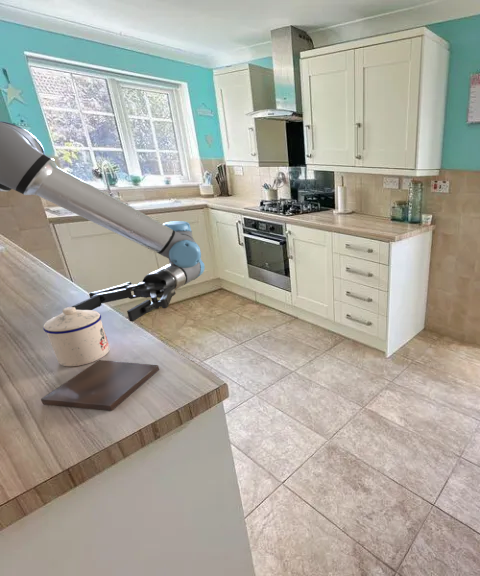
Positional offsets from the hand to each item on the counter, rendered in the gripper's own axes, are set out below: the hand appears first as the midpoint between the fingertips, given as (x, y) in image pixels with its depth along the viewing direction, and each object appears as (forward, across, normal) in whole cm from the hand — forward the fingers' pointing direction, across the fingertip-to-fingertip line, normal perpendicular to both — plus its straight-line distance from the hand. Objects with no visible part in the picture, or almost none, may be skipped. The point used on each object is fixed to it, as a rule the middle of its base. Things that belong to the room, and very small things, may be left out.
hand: (101, 314), depth 77 cm
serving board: (+16, -13, -6) cm, 22 cm away
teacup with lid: (+7, 0, -7) cm, 9 cm away
